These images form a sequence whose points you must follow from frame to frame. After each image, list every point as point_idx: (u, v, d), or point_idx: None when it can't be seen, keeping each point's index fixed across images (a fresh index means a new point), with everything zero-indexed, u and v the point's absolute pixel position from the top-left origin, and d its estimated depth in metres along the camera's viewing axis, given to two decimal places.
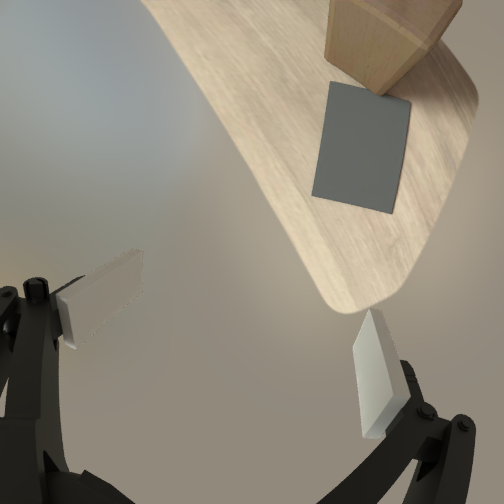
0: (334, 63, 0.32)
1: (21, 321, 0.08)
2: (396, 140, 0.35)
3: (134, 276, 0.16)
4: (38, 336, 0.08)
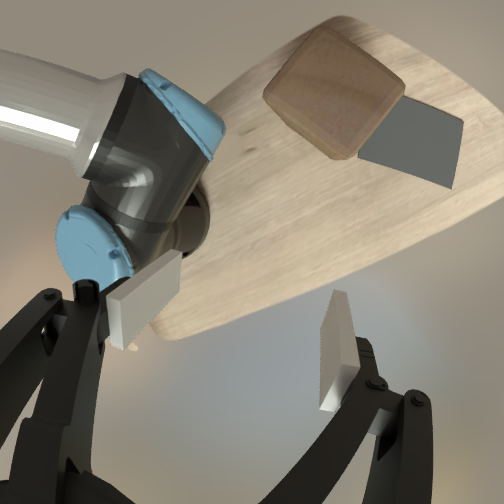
0: None
1: (66, 321, 0.09)
2: (407, 105, 0.36)
3: (174, 276, 0.17)
4: (81, 340, 0.08)
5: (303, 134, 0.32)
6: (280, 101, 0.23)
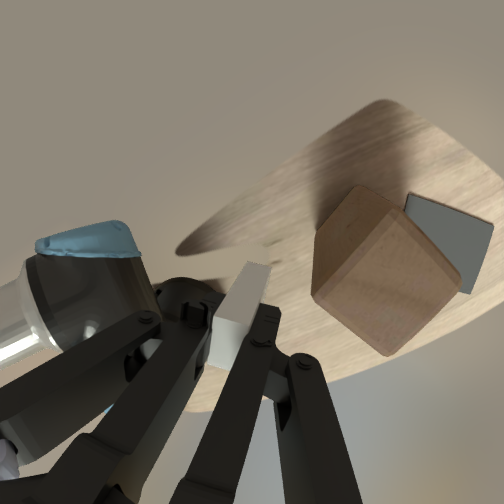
0: None
1: (164, 340, 0.10)
2: (442, 215, 0.35)
3: None
4: (176, 366, 0.09)
5: None
6: (331, 309, 0.22)
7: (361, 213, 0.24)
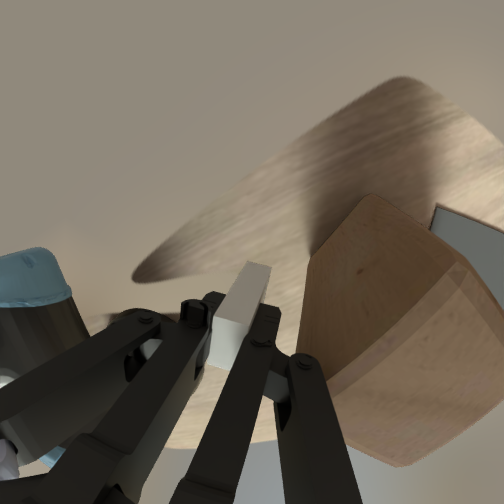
0: None
1: (164, 340, 0.10)
2: (477, 235, 0.25)
3: None
4: (176, 366, 0.09)
5: None
6: None
7: (384, 252, 0.14)
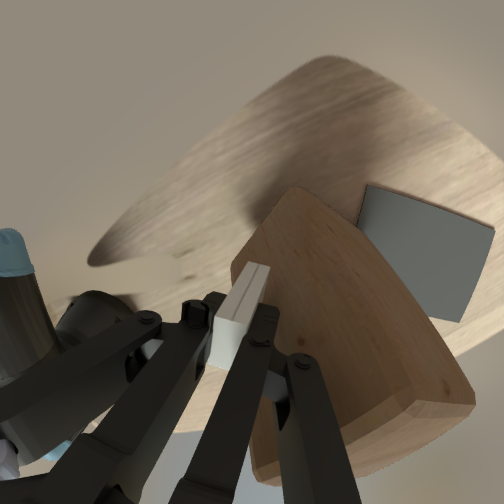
0: None
1: (165, 341, 0.10)
2: (420, 215, 0.26)
3: None
4: (177, 366, 0.09)
5: None
6: None
7: (329, 330, 0.12)
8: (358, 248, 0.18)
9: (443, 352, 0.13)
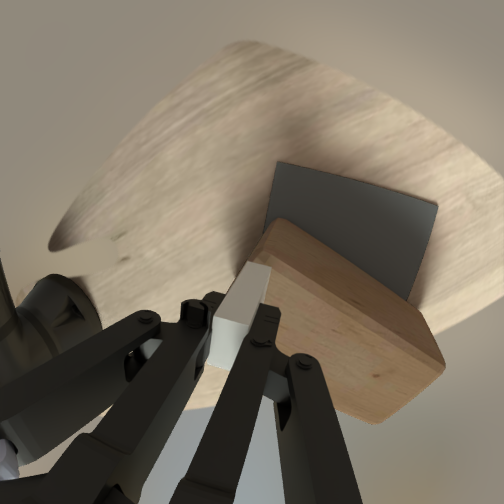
0: None
1: (164, 340, 0.10)
2: (338, 190, 0.27)
3: None
4: (176, 366, 0.09)
5: None
6: None
7: (396, 366, 0.20)
8: (355, 287, 0.22)
9: (409, 310, 0.25)
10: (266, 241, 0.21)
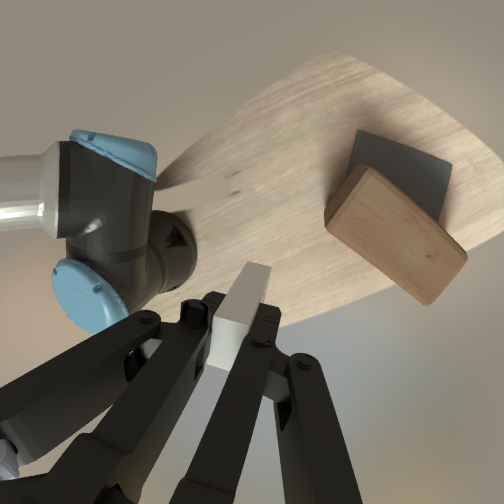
0: None
1: (164, 340, 0.10)
2: (394, 150, 0.39)
3: None
4: (176, 366, 0.09)
5: None
6: None
7: (439, 249, 0.32)
8: None
9: None
10: (367, 166, 0.33)
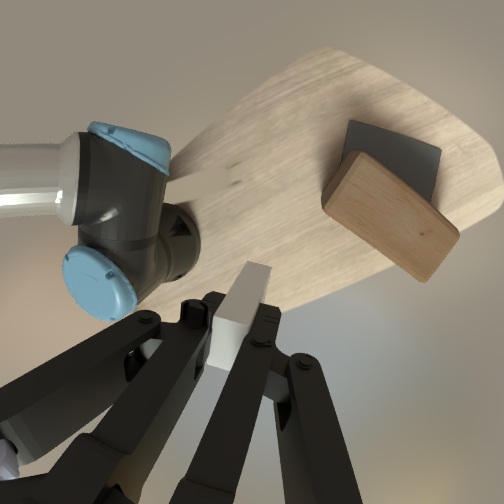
0: None
1: (164, 340, 0.10)
2: (385, 137, 0.41)
3: None
4: (176, 366, 0.09)
5: None
6: None
7: (432, 227, 0.35)
8: None
9: None
10: (359, 151, 0.35)
